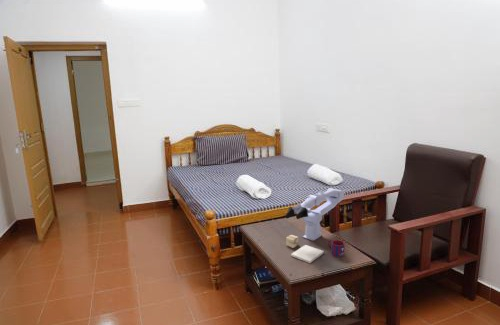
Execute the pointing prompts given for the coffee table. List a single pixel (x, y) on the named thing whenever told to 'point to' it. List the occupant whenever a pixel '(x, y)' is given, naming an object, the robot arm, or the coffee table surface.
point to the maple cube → (292, 241)
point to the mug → (337, 248)
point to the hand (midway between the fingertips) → (291, 217)
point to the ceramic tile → (307, 253)
